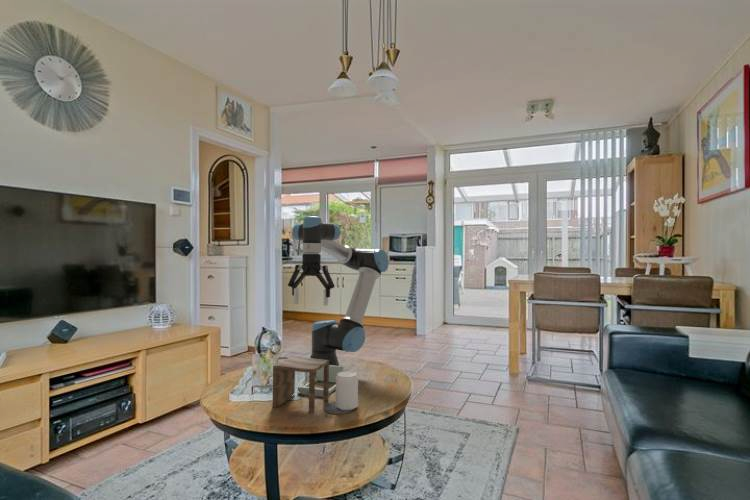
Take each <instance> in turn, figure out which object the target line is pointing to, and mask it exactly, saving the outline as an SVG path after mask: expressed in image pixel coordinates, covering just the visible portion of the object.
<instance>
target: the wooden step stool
mask: <svg viewBox="0 0 750 500" xmlns="http://www.w3.org/2000/svg"><path fill="white" fill-rule="evenodd" d="M322 367H324V381H323V387H322V389H323V396H322V397H323V399H322V400H323V401H325V402H328V401H329V395H330V394H329V389H330V388H329V387H330V384H329V383H330V382H329V360H323V359H313V358H310V357H300V356H292V355H291V356H289V357H287V358H286V359H283V360H281V361H280V362H277V363H275V364H273V367H272V404H271V405H272V407H271V408H275V409H276V408H278V407H279V406H281V405H282V404H284V403H285V402H288V400H290V399H291V398H293V397H292V395H293V394H294V393H295V392H296V391H295V387H296V384H295V383H296V372H297V373H298V372H299V373H308V376H309V378H308V383H309V394H308V413H310V414H313V413H315V407H316V406H315V402H316V401H315V399H316V398H315V397H316V395H315V388H316V382H315V378H316V371H318V370H319V369H321V368H322Z"/></svg>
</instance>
